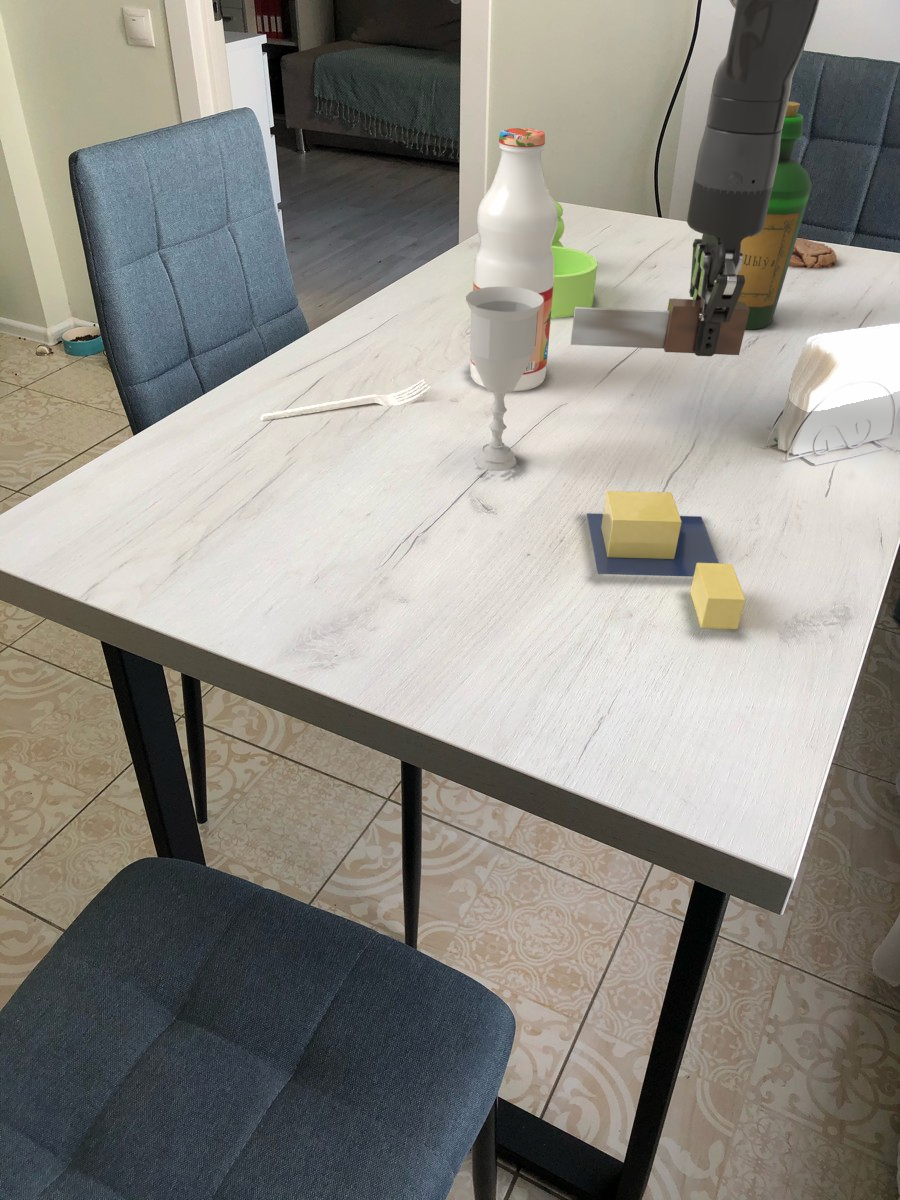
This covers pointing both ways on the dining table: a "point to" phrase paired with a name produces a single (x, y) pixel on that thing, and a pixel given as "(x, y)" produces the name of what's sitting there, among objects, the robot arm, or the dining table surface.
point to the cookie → (812, 255)
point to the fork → (355, 402)
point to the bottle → (776, 229)
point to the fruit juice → (519, 237)
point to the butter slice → (717, 596)
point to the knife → (655, 327)
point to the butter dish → (683, 554)
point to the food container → (571, 275)
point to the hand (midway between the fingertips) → (700, 348)
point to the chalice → (501, 355)
